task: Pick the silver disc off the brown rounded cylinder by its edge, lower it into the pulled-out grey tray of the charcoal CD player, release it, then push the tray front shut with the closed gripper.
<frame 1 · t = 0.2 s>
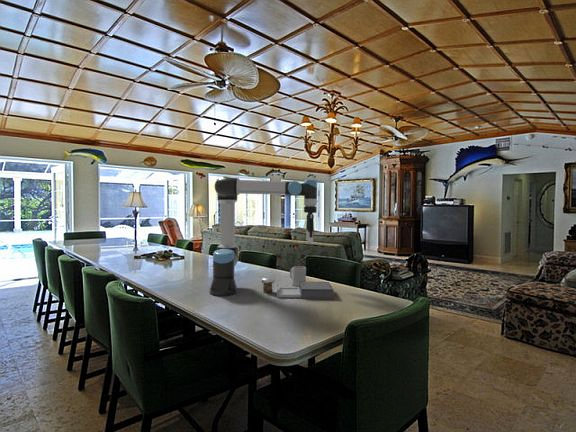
hand: (309, 241, 204), 28 cm above the table, fingers open, 13 cm apart
housing: (315, 294, 189), on the table
brown rounded cylinder: (267, 292, 193), on the table
disc: (267, 281, 192), point 6 cm above the table, touching brown rounded cylinder
tray: (292, 289, 189), point 2 cm above the table, slide at 12.0 cm
mug: (296, 284, 212), on the table
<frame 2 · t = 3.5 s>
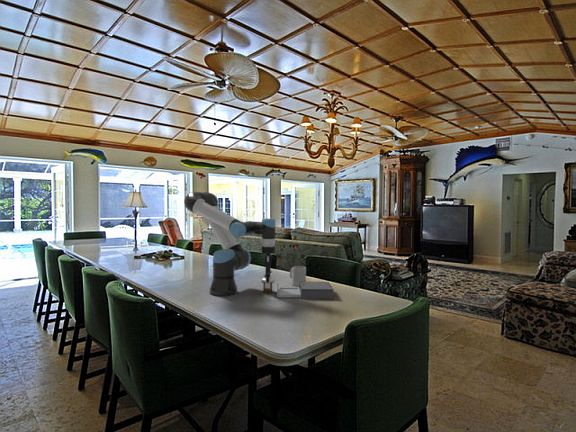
hand: (267, 286, 193), 3 cm above the table, fingers closed on disc, 8 cm apart
disc: (267, 281, 192), point 6 cm above the table, touching gripper, brown rounded cylinder
everything else where it was.
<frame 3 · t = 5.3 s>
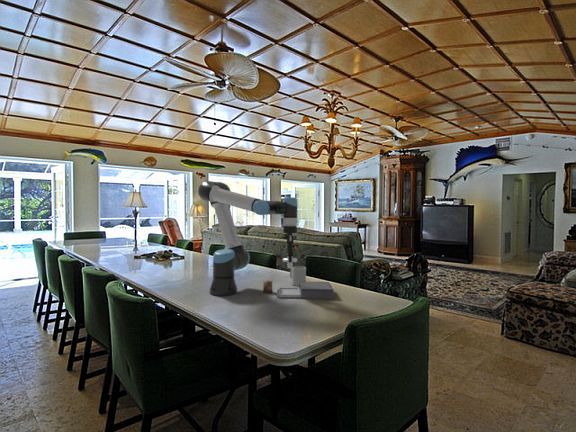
hand: (289, 266, 188), 15 cm above the table, fingers closed on disc, 8 cm apart
disc: (289, 261, 188), point 18 cm above the table, touching gripper
everything else where it was.
when the fingers open (2 cm above the table, at t = 7.2 s): disc drops 3 cm, resting on tray.
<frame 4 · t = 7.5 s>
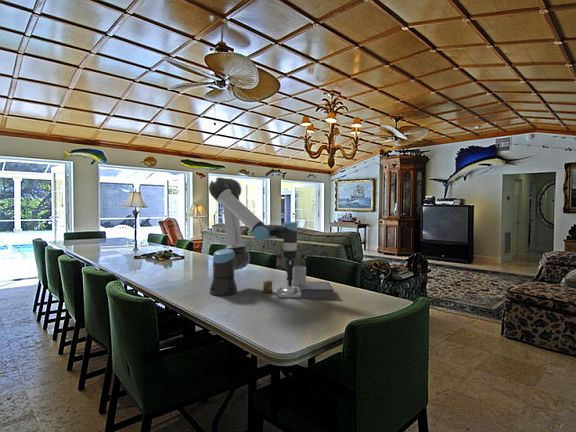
hand: (289, 288, 189), 3 cm above the table, fingers open, 12 cm apart
disc: (289, 292, 189), point 1 cm above the table, touching tray
tray: (292, 289, 189), point 2 cm above the table, slide at 12.0 cm, touching disc
everything else where it was.
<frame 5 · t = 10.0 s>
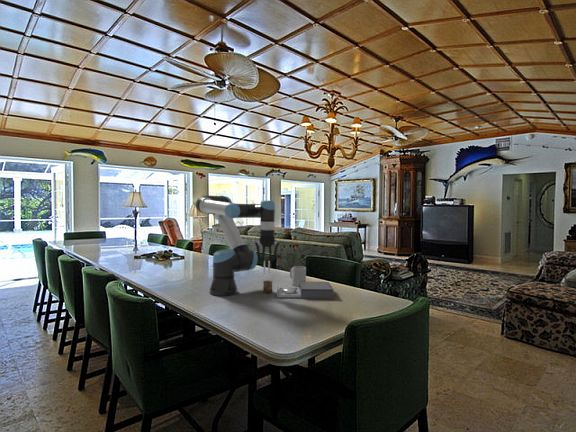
hand: (266, 273, 183), 12 cm above the table, fingers closed
nothing on the table moved.
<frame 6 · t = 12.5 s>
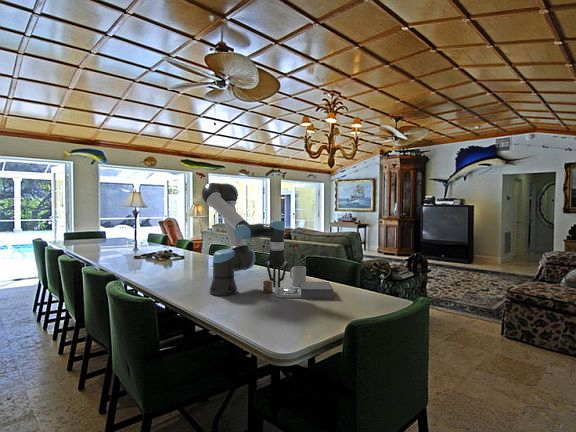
hand: (276, 293, 183), 2 cm above the table, fingers closed
tray: (293, 289, 189), point 2 cm above the table, slide at 11.4 cm, touching disc, gripper
everything else where it was.
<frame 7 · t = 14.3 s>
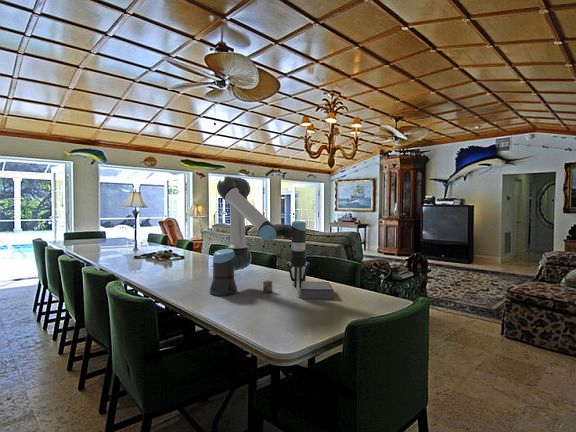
hand: (297, 293, 184), 2 cm above the table, fingers closed
disc: (310, 292, 189), point 1 cm above the table, touching tray
tray: (313, 290, 189), point 2 cm above the table, slide at 0.1 cm, touching disc
everything else where it was.
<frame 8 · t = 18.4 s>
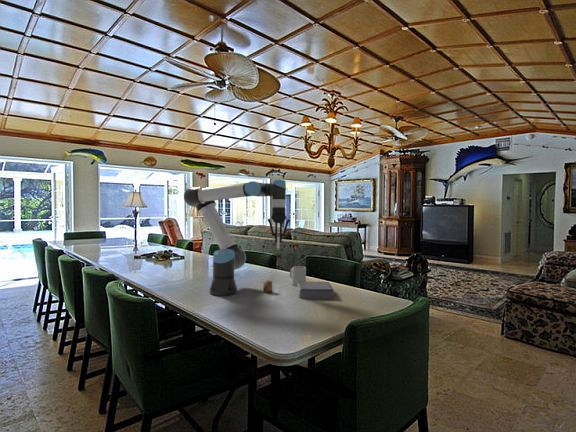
hand: (278, 248, 195), 24 cm above the table, fingers closed
nothing on the table moved.
at the end: tray slide at 0.1 cm; disc inside the target area on the housing (2.7 cm from its centre), point 1.1 cm above the housing's base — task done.
